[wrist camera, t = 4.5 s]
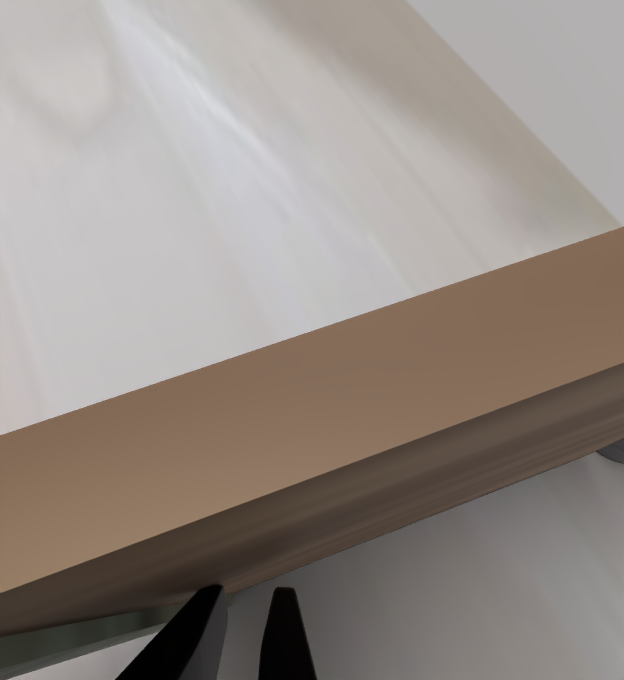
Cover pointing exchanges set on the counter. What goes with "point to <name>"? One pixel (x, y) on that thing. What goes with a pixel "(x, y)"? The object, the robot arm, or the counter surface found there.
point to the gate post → (614, 451)
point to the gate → (303, 449)
